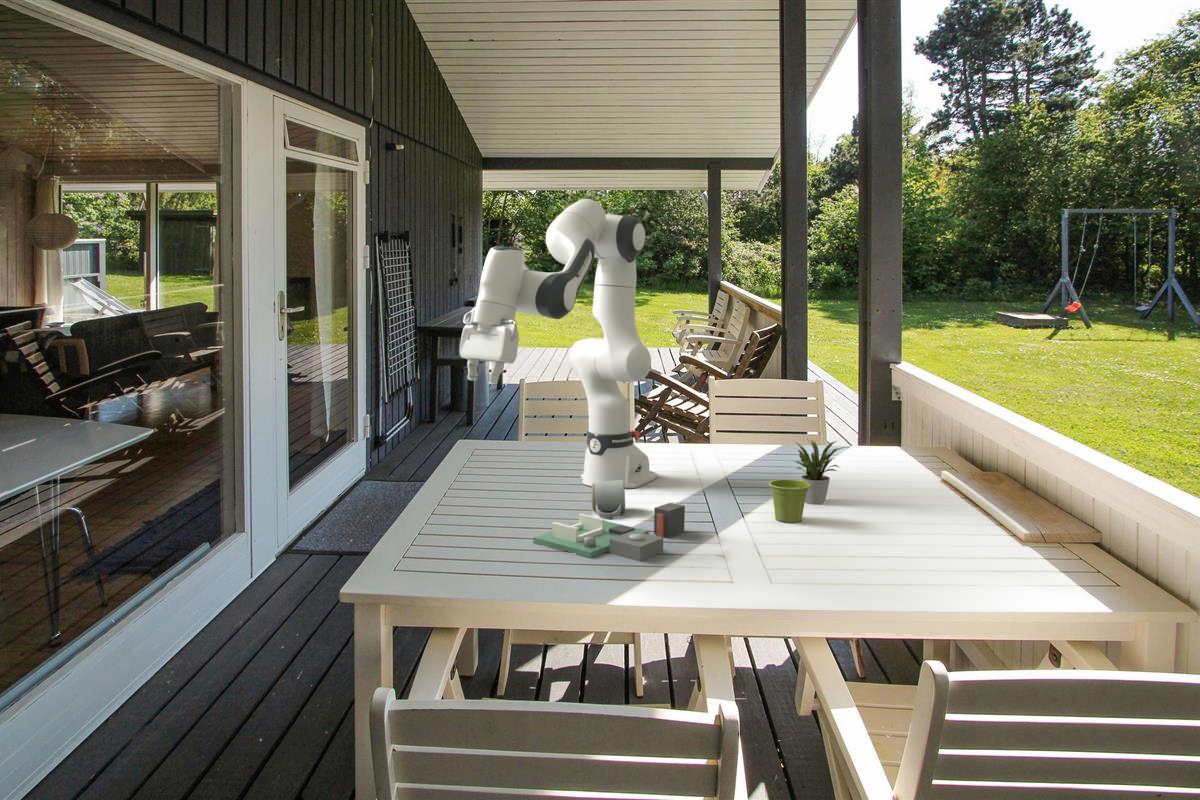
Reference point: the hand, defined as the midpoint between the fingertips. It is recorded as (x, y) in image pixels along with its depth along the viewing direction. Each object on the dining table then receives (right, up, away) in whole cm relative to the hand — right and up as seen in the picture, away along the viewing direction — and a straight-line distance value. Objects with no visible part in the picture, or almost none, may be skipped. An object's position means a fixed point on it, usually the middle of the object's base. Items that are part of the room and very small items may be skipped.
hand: (481, 381), depth 207 cm
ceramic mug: (+28, -31, +23) cm, 48 cm away
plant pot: (+70, -32, +18) cm, 79 cm away
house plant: (+81, -30, +35) cm, 93 cm away
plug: (+41, -34, +7) cm, 53 cm away
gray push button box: (+33, -36, -7) cm, 49 cm away
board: (+24, -34, +2) cm, 42 cm away
